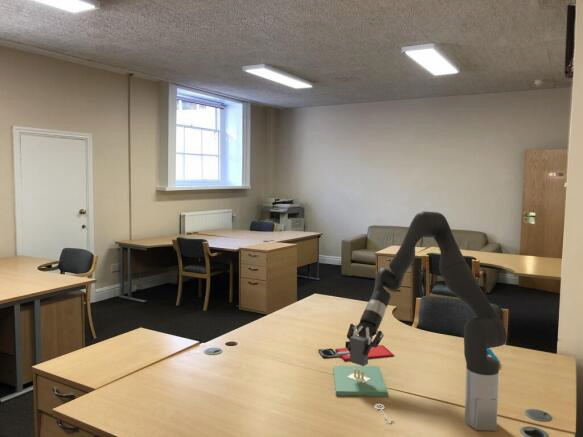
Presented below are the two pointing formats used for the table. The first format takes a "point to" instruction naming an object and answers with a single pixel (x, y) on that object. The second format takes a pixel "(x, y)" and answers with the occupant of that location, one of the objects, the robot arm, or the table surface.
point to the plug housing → (358, 350)
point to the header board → (359, 380)
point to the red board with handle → (345, 354)
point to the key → (382, 410)
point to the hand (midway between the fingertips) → (356, 352)
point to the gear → (491, 354)
